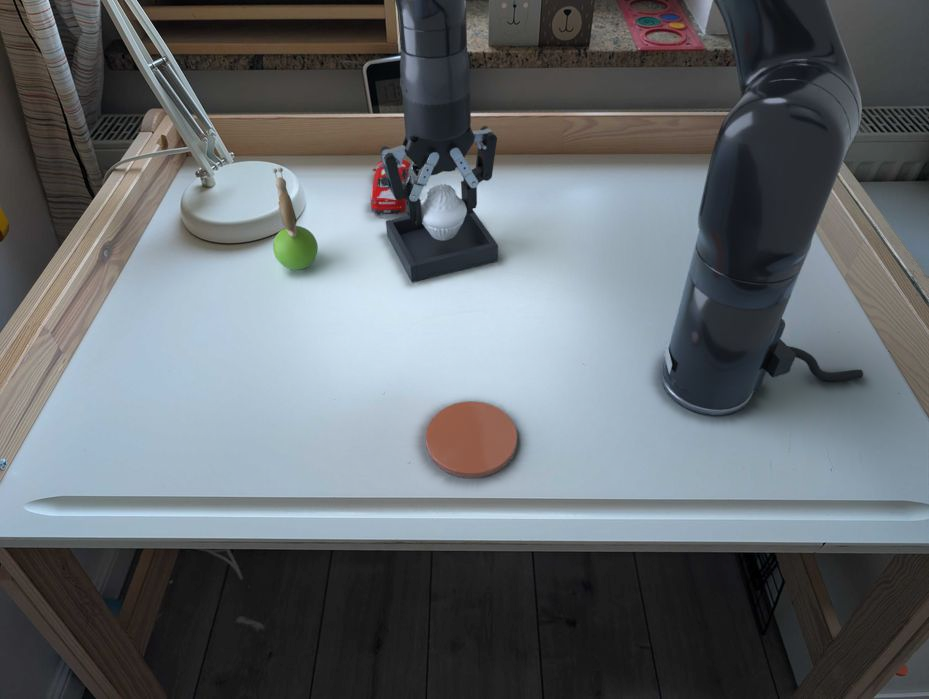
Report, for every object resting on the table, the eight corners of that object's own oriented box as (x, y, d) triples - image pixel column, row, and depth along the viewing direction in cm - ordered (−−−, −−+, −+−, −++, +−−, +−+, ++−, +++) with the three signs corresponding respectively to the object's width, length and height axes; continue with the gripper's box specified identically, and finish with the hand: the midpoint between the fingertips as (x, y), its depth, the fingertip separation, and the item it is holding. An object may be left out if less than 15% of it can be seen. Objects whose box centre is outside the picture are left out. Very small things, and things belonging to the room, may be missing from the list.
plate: (495, 396, 75) (495, 391, 75) (531, 461, 69) (532, 456, 69) (414, 421, 73) (413, 415, 72) (444, 490, 67) (443, 485, 66)
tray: (467, 217, 99) (467, 202, 97) (497, 261, 92) (498, 245, 90) (387, 236, 96) (385, 220, 94) (411, 282, 89) (410, 266, 87)
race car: (378, 170, 108) (375, 145, 105) (414, 170, 108) (412, 145, 105) (367, 219, 99) (364, 194, 96) (406, 219, 98) (404, 194, 96)
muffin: (472, 222, 93) (471, 175, 89) (461, 250, 89) (459, 201, 84) (426, 217, 95) (423, 170, 90) (413, 244, 90) (409, 196, 85)
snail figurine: (315, 244, 95) (299, 163, 86) (324, 273, 90) (308, 190, 82) (274, 252, 93) (254, 171, 85) (281, 282, 89) (260, 199, 81)
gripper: (382, 113, 74) (396, 245, 86) (509, 88, 78) (507, 219, 89) (363, 84, 79) (379, 213, 91) (483, 62, 83) (484, 189, 94)
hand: (442, 215), depth 90 cm, fingers closed on muffin, 6 cm apart
